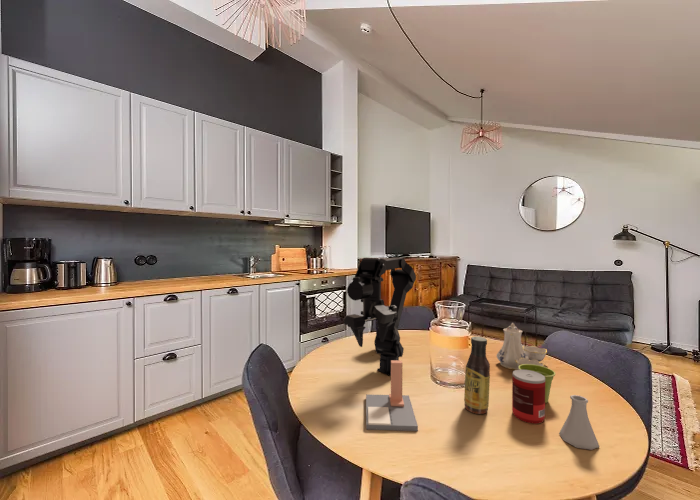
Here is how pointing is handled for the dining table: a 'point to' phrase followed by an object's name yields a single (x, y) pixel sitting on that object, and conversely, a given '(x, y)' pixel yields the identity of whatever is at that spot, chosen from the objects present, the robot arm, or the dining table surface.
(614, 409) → the dining table surface
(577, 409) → the flask
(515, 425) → the dining table surface
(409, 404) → the ticket board
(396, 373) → the stub
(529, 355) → the chinaware
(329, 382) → the dining table surface
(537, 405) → the canned food
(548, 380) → the plant pot
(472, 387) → the sauce bottle
